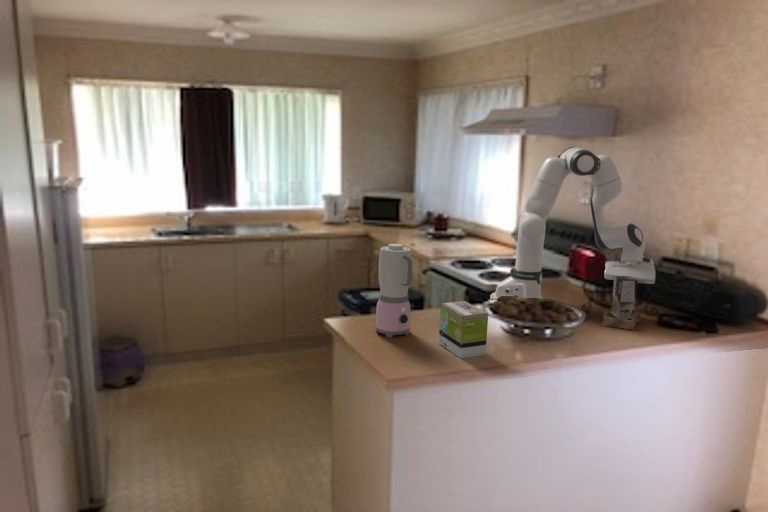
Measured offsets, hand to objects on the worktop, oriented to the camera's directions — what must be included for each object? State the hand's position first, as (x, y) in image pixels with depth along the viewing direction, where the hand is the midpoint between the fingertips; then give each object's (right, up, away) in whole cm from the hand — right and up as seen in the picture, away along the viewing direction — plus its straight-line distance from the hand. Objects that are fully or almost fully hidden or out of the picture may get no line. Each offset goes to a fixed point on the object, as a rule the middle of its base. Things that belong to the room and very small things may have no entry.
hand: (627, 288), depth 250 cm
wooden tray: (-10, -13, -18) cm, 24 cm away
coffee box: (-5, -11, -7) cm, 14 cm away
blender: (-99, -14, -38) cm, 107 cm away
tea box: (-77, -18, -52) cm, 94 cm away
